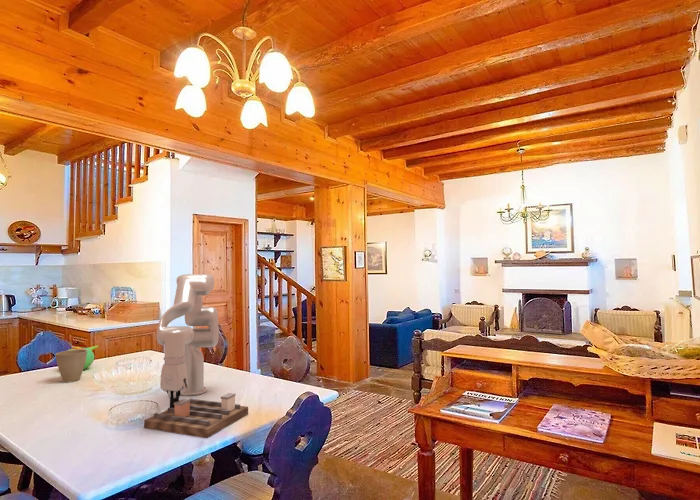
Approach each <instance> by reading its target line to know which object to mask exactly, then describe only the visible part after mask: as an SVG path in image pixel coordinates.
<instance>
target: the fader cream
mask: <svg viewBox="0 0 700 500" xmlns="http://www.w3.org/2000/svg"><path fill="white" fill-rule="evenodd" d="M220 400H221V401H220V402H221V409H225V410H230V411H231V410H233V409H235V404H236V393H233V392H228V393H225V394H224V395H221V396H220Z"/></svg>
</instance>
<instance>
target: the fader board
mask: <svg viewBox="0 0 700 500" xmlns="http://www.w3.org/2000/svg"><path fill="white" fill-rule="evenodd" d="M190 399H191V401H190V415H189V416H186V417H181V416H174V413H175V408H170V406H169V407H168V408H167V410H164V411H162V412H160V413H158V412H156V413H153V415H152V416H150V417H148V418H146V419H144V420H143V429H149V430H154V431H163V432H168V433H174V434H175V433H176V434H181V435H187V436H195V437H201V438H207V439H208V438H209V437H211V436H214V435H215V434H217V433H218V432H219V431H222V430H223V429H225V428H226V427H228V426H230V425H232V424H234V423H235V422H238V420H240V419H242V418H245V416H247V415H249V406H245V405H241V404H239V403H235V409H233V410H231V411H230V410H225V409H221V401H215V400H214V401H213V400H206V399H205V400H204V399H198V398H195V399H194V398H190Z"/></svg>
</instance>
